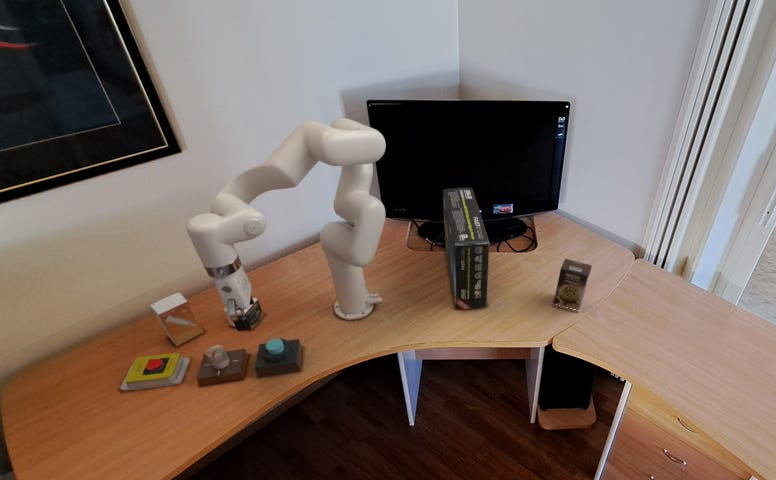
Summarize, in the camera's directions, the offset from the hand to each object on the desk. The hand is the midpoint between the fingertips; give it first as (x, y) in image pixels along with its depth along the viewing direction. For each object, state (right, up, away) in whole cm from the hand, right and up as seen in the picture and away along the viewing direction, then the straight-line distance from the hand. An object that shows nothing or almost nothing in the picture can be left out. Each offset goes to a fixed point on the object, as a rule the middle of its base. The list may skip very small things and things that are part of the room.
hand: (246, 316), depth 115 cm
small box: (-29, -7, +20) cm, 36 cm away
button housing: (+3, -14, +13) cm, 19 cm away
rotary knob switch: (-11, -16, +10) cm, 22 cm away
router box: (+55, +12, +46) cm, 73 cm away
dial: (-11, -13, +8) cm, 19 cm away
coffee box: (+91, +2, +36) cm, 98 cm away
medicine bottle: (-13, -3, +25) cm, 29 cm away
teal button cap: (+3, -10, +9) cm, 14 cm away
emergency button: (-29, -17, +8) cm, 35 cm away
